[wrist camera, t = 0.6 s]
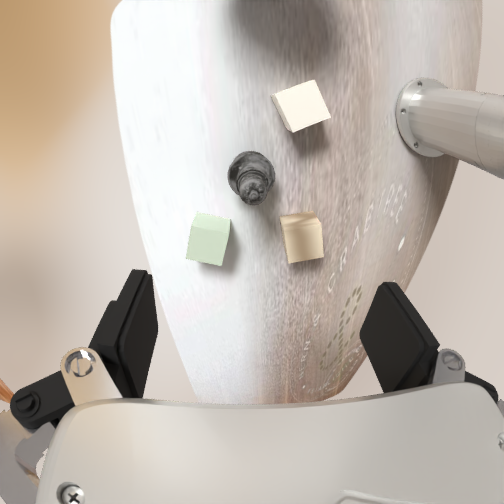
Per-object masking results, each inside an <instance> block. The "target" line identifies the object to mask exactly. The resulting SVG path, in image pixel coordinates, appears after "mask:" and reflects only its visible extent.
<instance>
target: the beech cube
mask: <svg viewBox="0 0 504 504" xmlns="http://www.w3.org/2000/svg"><path fill="white" fill-rule="evenodd" d="M280 223H281V230H282V236H283V243H284V248H285V252H286V255H287V259H288V263H294V262H299V261H305V260H310V259H316V258H321V257H324V253H323V239H322V226H321V223H320V221H319V220H318V218H317V216H316V215H315V213H314V212H313V211H309V212H303V213H297V214H291V215H286V216H280Z"/></svg>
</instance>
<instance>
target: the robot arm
mask: <svg viewBox="0 0 504 504" xmlns="http://www.w3.org/2000/svg"><path fill="white" fill-rule="evenodd" d="M401 110H402V112H401ZM396 120H397V124H398V128H399V131H400V134H401V136H402V138H403V139H404V141H405V142H406V144H407V145H408V146H409V147H410V148H411V149H412V150H413V151H415V152H417V153H418V154H420V155H423V156H426V157H439V156H442V155H444V154H448V155H450V156H453V157H455V158H457V159H460V160H462V161H465V162H467V163H469V164H471V165H474V166H476V167H478V168H480V169H482V170H484V171H487V172H489V173H491V174H493V175H495V176H497V177H499V178H501V179H504V95H498V94H491V93H485V92H477V91H468V90H458V89H448V88H447V87H446V86H445V85H444V84H442V83H441V82H439V81H437V80H435V79H431V78H418V79H415V80H412V81H410V82H409V83H408V84H407V85H406V86H405V87H404V88H403V89H402V91H401V93H400V95H399V97H398V101H397V106H396ZM157 335H158V321H157V314H156V306H155V298H154V289H153V279H152V275H151V274H148V273H147V271H146V270H135V269H133V270H132V271H131V273H130V275H129V277H128V279H127V281H126V283H125V285H124V287H123V289H122V291H121V293H120V295H119V297H118V299H117V301H111V302H110V303H109V305H108V306H107V308H106V311H105V312H104V314H103V317H102V319H101V321H100V323H99V325H98V327H97V329H96V331H95V334H94V336H93V338H92V340H91V342H90V345H89V347H88V348H86V347H79V348H75V349H72V350H70V351H69V352H67V354H65V356H64V357H63V359H62V360H61V365H60V366H61V370H60V371H58V372H56V373H54V374H52V375H50V376H48V377H46V378H44V379H41V380H39V381H37V382H35V383H33V384H31V385H28V386H26V387H24V388H22V389H20V390H18V391H17V392H16V393H15V394H14V395H13V397H12V399H11V402H10V410H8V411H7V412H6V411H5V410H3V411H2V412H1V413H0V496H1V497H2V499H3V500H4V501H5V503H6V504H504V401H502V400H501V399H500V400H499V401H498V394H497V391H496V389H495V387H494V386H493V385H491V384H490V383H488V382H486V381H484V380H482V379H480V378H478V377H476V376H474V375H472V374H470V373H468V372H466V371H465V362H464V360H463V358H462V357H461V355H459V354H458V353H457V352H456V351H454V350H451V349H442V350H441V351H440V352H438V350H437V349H438V347H439V346H440V344H439V343H438V341H437V340H436V338H435V337H434V335H433V334H432V332H431V331H430V329H429V328H428V326H427V325H426V323H425V322H424V320H423V319H422V317H421V316H420V315H419V313H418V312H417V310H416V309H415V308H414V306H413V305H412V303H411V302H410V301H409V299H408V298H407V296H406V295H405V294H404V292H403V291H402V290H401V288H400V287H399V286H398V284H397V283H395V282H383V283H382V284H381V285H380V286H379V287H378V289H377V291H376V294H375V296H374V299H373V301H372V304H371V306H370V309H369V311H368V314H367V316H366V318H365V321H364V323H363V325H362V328H361V330H360V339H361V342H362V344H363V346H364V348H365V350H366V353H367V355H368V357H369V359H370V362H371V364H372V366H373V369H374V371H375V373H376V376H377V378H378V380H379V383H380V385H381V387H382V390H383V392H384V393H383V394H377V395H370V396H363V397H356V398H348V399H340V400H330V401H319V402H306V403H288V404H212V403H193V402H179V401H167V400H154V399H142V397H143V394H144V388H145V384H146V380H147V375H148V371H149V367H150V363H151V358H152V354H153V350H154V346H155V342H156V338H157ZM47 448H48V451H47V454H46V457H45V461H44V465H43V468H42V473H41V477H40V479H39V478H38V476H37V474H36V464H37V462H38V461H39V459H40V458H41V457H42V456H43V455H44V454H43V451H45V450H46V449H47Z"/></svg>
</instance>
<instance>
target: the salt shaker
mask: <svg viewBox="0 0 504 504" xmlns="http://www.w3.org/2000/svg"><path fill="white" fill-rule="evenodd" d="M274 180H275V172H274V168H273V166H272V164H271V162H270V161H269V160H268V159H267V158H265V157H264V156H263V155H262V154H260V153H258V152H255V151H246V152H243V153H241V154H239V155H238V156H237V157H236V158H235V159H234V161H233V162H232V164H231V165H230V167H229V170H228V182H229V185H230V187H231V188H232V190H233V191H234V192H235V193H236V194H238V195H240V197H241V199H242V200H243V201H244V202H245V203H247V204H249V205H257V204H260V203H261V202H263V201H264V199H265V198H266V196H267V192H268V191H269V190H270V189H271V187H272V186H273V183H274Z"/></svg>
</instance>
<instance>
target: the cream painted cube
mask: <svg viewBox="0 0 504 504" xmlns="http://www.w3.org/2000/svg"><path fill="white" fill-rule="evenodd" d="M271 98H272V100H273V102H274V104H275V106H276V108H277V110H278V112H279V114H280V116H281V118H282V120H283V122H284V125H285V127H286V129H287V130H289V131H291V132H295V131H298V130H300V129H303V128H305V127H308V126H310V125H313V124H315V123H318V122H320V121H323V120H326V119H328V118H331V116H330V114H329V112H328V109H327V107H326V104H325V102H324V100H323V98H322V95H321V93H320V91H319V89H318V87H317V84H316V82H315V80H311V81H307V82H304V83H302V84H299V85H296V86H294V87H291V88H289V89H286V90H283V91H281V92H278V93H276V94H274V95H271Z"/></svg>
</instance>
